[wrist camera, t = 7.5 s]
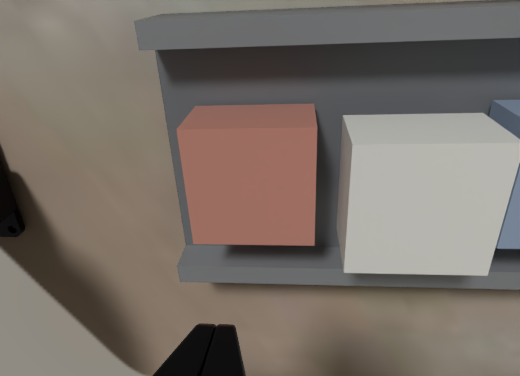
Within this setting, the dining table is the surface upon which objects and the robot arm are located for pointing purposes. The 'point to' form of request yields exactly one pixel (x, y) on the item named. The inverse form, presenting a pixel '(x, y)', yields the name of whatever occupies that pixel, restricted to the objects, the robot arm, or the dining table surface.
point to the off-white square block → (423, 192)
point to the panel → (333, 105)
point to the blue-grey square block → (516, 216)
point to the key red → (250, 173)
